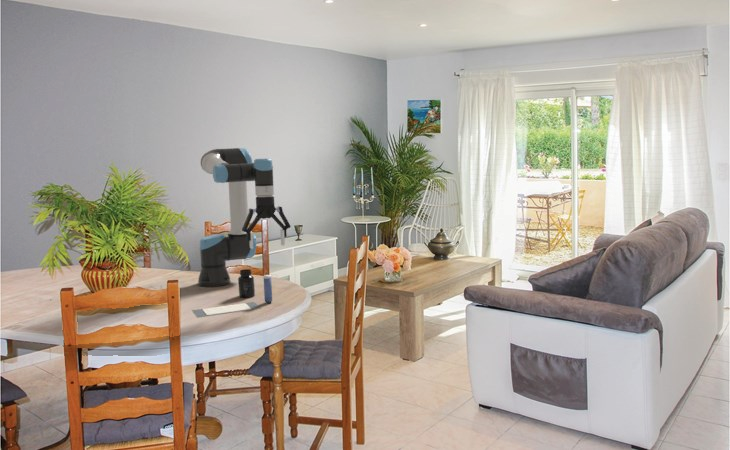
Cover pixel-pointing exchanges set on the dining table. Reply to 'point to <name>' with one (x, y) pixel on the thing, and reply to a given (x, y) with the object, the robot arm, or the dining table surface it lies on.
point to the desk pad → (202, 314)
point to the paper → (226, 309)
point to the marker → (267, 289)
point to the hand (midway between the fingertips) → (267, 246)
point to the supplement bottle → (246, 284)
